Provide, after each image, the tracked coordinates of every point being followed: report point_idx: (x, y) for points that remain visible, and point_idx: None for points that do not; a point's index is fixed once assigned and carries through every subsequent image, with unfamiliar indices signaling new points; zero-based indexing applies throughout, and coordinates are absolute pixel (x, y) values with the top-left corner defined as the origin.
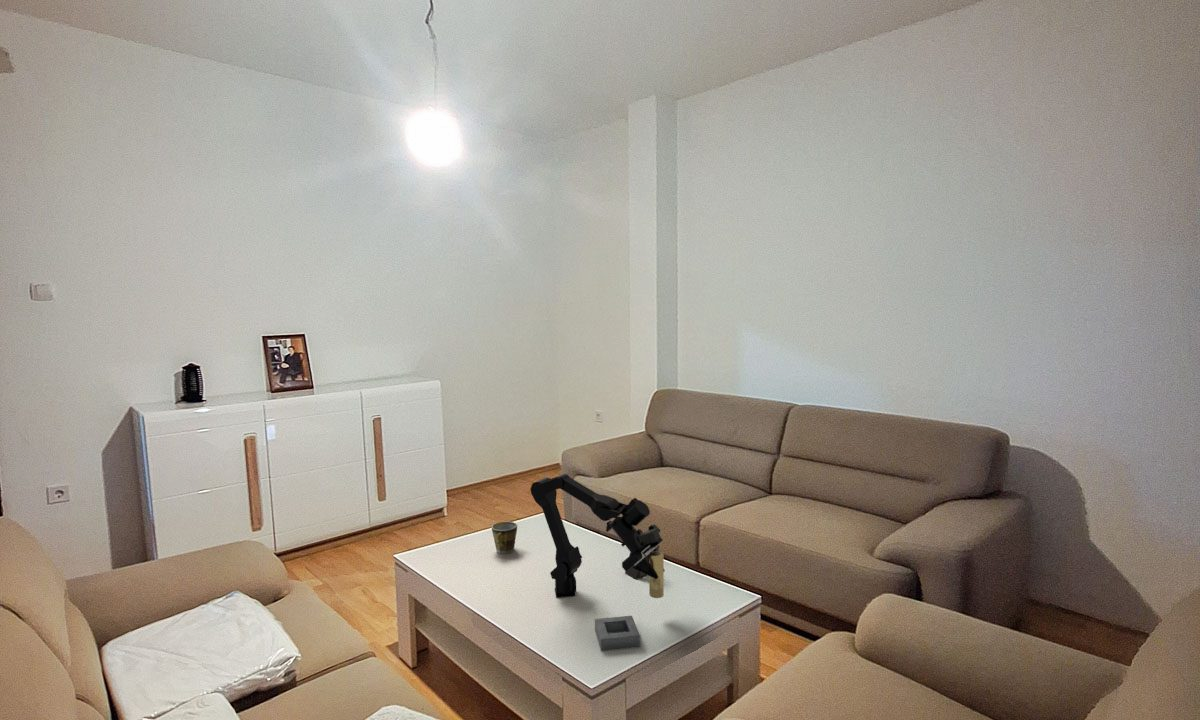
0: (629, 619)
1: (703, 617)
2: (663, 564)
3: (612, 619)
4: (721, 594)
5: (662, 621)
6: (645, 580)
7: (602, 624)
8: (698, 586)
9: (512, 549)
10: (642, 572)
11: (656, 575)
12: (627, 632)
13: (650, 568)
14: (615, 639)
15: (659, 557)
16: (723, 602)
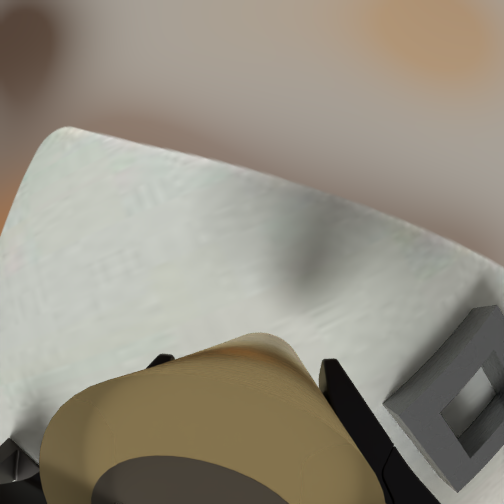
0: (429, 404)
1: (193, 192)
2: (203, 351)
3: (447, 451)
4: (43, 204)
5: (293, 320)
6: None
7: (481, 452)
8: (19, 287)
9: None
10: (29, 473)
11: (345, 374)
12: (499, 352)
13: (395, 453)
14: None
15: (324, 421)
16: (82, 178)
